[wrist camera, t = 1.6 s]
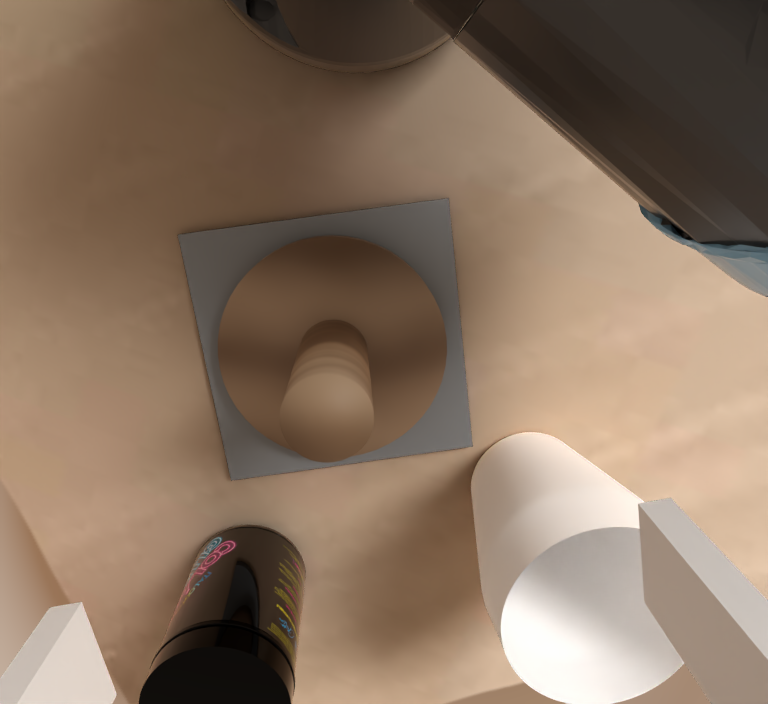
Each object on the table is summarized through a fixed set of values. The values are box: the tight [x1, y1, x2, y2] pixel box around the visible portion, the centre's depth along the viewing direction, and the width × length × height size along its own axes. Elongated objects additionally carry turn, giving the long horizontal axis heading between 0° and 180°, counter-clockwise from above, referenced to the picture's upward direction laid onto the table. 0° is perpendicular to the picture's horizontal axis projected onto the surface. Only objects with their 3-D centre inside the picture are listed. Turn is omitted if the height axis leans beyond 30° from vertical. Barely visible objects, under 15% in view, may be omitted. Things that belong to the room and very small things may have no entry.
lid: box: [218, 235, 447, 463], centre depth 29 cm, size 12×12×10 cm
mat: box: [178, 198, 473, 481], centre depth 34 cm, size 14×14×1 cm
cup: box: [471, 432, 684, 704], centre depth 31 cm, size 9×9×12 cm
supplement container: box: [139, 525, 306, 704], centre depth 33 cm, size 7×7×10 cm
